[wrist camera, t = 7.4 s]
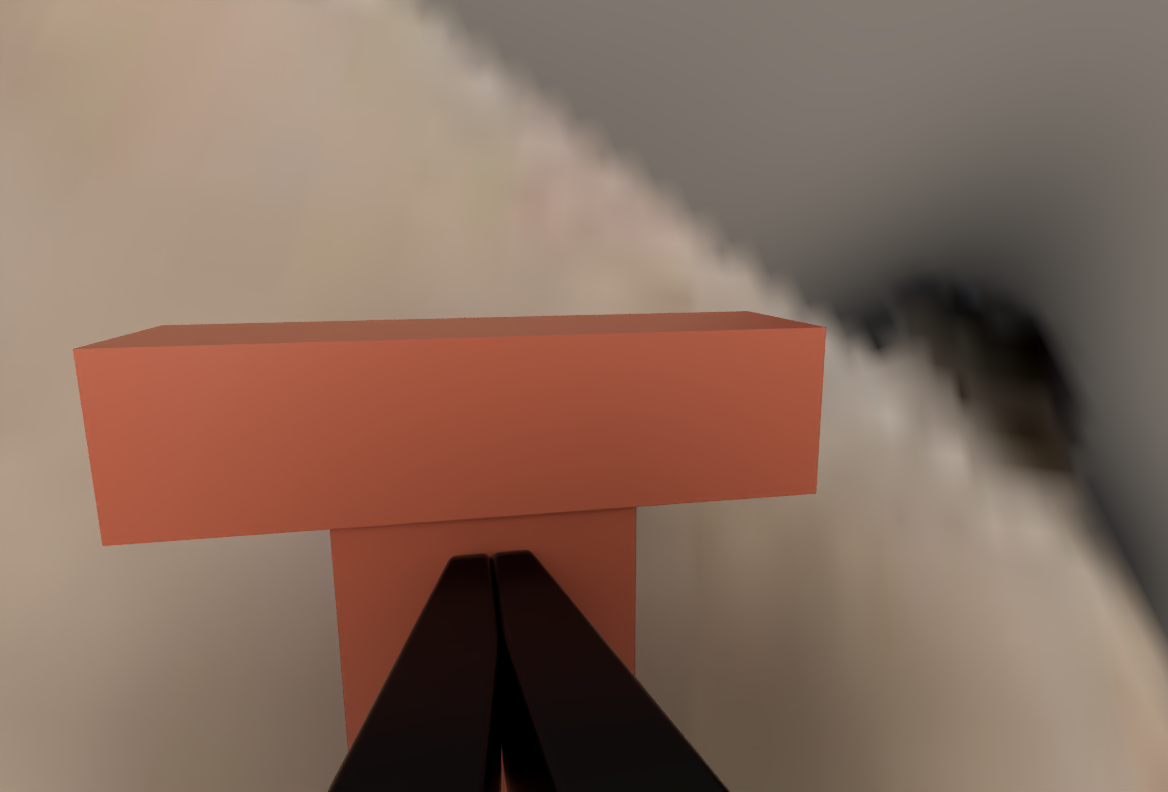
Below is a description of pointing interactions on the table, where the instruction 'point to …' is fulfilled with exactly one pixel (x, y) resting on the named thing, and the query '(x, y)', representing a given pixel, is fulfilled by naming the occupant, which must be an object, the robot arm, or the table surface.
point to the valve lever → (448, 446)
